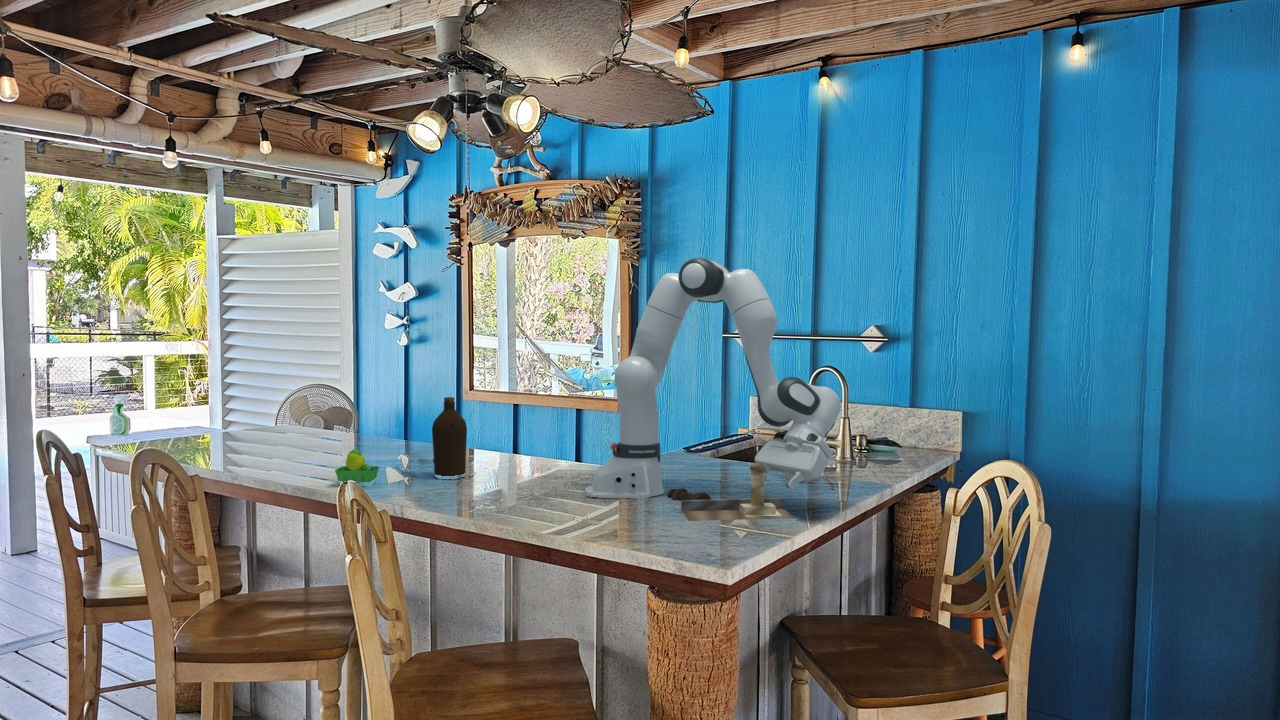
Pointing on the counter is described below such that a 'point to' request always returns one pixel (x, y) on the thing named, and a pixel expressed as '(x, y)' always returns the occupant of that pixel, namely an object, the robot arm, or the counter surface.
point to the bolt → (687, 495)
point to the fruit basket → (356, 469)
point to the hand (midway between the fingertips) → (774, 484)
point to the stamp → (757, 494)
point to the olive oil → (449, 441)
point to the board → (728, 509)
